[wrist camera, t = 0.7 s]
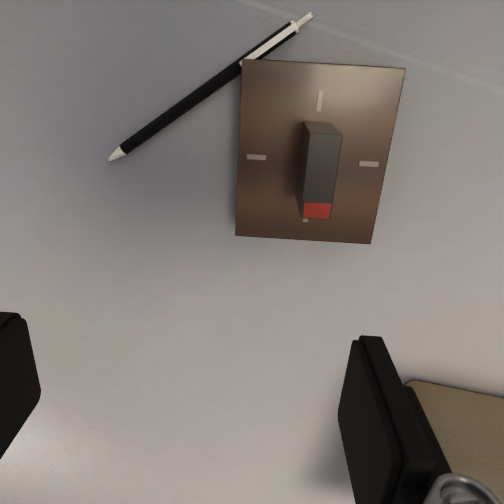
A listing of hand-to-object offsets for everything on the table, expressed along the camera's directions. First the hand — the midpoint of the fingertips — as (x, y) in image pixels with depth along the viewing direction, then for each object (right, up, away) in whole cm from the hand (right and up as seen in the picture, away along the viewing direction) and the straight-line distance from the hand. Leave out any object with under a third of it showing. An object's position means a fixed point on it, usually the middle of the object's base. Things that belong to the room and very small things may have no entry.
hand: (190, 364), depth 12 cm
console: (+6, +11, +21) cm, 25 cm away
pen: (-2, +16, +20) cm, 25 cm away
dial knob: (+6, +10, +18) cm, 22 cm away
